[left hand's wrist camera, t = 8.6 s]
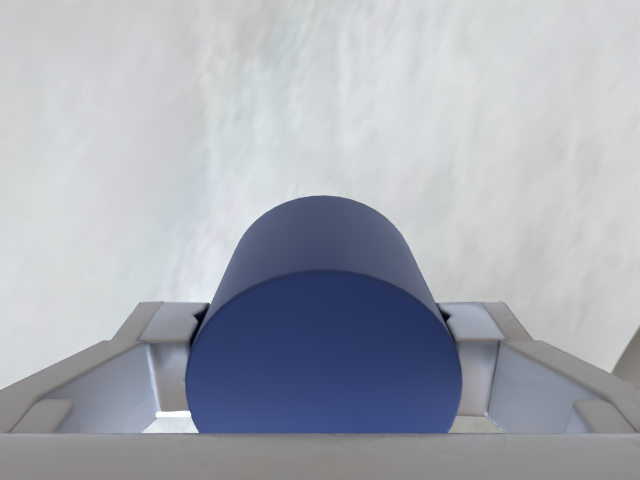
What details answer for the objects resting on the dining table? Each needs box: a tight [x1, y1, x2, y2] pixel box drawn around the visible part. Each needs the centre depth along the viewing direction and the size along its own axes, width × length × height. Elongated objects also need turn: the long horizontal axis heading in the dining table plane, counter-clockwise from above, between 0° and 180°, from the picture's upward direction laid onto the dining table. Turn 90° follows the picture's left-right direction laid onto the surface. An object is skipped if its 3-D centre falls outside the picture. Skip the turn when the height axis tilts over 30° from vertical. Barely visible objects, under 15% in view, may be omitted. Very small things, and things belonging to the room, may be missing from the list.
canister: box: [185, 196, 463, 433], centre depth 10 cm, size 5×5×4 cm
